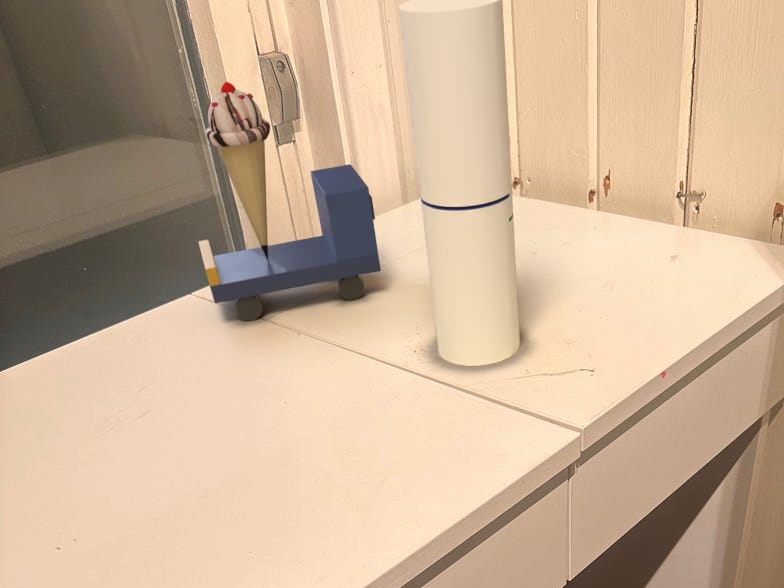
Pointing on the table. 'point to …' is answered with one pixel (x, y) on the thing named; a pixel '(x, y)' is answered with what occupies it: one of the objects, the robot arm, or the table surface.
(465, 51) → the cylindrical container
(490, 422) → the table surface
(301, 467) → the table surface
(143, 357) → the table surface
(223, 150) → the ice cream cone
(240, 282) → the flatbed truck
